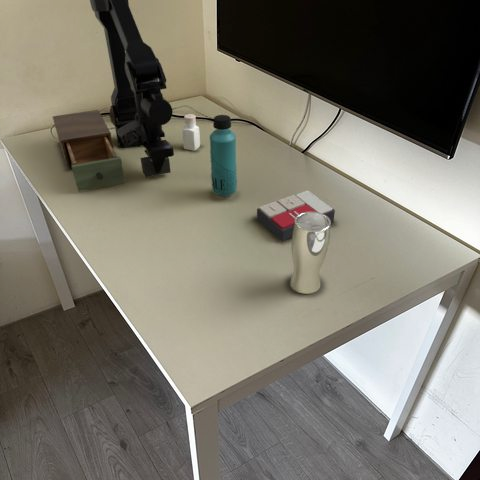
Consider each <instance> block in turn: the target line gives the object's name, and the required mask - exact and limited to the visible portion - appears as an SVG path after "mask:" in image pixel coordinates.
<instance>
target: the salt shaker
mask: <svg viewBox="0 0 480 480" xmlns="http://www.w3.org/2000/svg"><path fill="white" fill-rule="evenodd" d="M196 118H197V117H196V115H195V114H193V113H187V114H185V115H184V117H183V119H184V126H183V127H182V129H181V130H182V142H183V149H184V150H188V151H193V152H194V151H197V150H198V149H199V148H200V147H201V137H200V136H201V135H200V127H199V126H198V125H197V123H196V122H197V119H196Z"/></svg>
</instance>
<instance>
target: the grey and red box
mask: <svg viewBox="0 0 480 480" xmlns="http://www.w3.org/2000/svg"><path fill="white" fill-rule="evenodd" d="M304 212H319V213H322V214H324V215H326V216H327V217H328V218H329V219H330V221H331V224H330V225H332V224H334V222H335V213H336V209H334V208H333V207H331V206H330V205H329V204H327V203H326V202H325V201H323V200H322V199H321V198H320V197H318V196H317V195H315V194H314V193H312V192H311V191H310V190H304V191H302V192H299V193H296V194H292V195H289V196H286V197H284V198H281V199H278V200H277V201H273V202H272V201H271V202H269V203H267V204H264V205H261V206H259V207H258V208H256V220H257V221H258V222H259V223H260V224H261V225H262V226H263V227H265V228H266V229H267V231H269V232H270V233H271V234H273V235H274V236H275V237H276V238H277V239H278V240H279V241H281V242H284V241H285V242H286V241H288V240H289V239H292V233H293V227H294V222H295V218H296V216H297V215H299V214H301V213H304Z"/></svg>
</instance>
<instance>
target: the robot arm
mask: <svg viewBox="0 0 480 480" xmlns="http://www.w3.org/2000/svg"><path fill="white" fill-rule="evenodd" d="M89 3H90V7H91V10H92V12H94V16H95V18H96V20H97V21H98V22H99V24H100V25H101V27H103V32H104V36H105V42H106V48H107V53H108V59H109V64H110V70H111V75H112V81H113V85H114V86H113V90H112V94H111V96H110V102H111V105H110V107H109V108H110V109H109V117H110V121H111V122H110V123H111V125H113V126H114V127H115V134H116V141H117V144H119V147H120V148H122V149H123V148H130V147H131V148H133V147H140V146H142V147H143V148H145V149H144V150H143V151H144V153H145V154H146V156H147V157H149V159H151V160H152V162H153V165H154V168H155V171H156V173H160V172H161V169H162V166H163V164H164V161H165V158H166V157H168V158H171V157H173V156H175V151H174V147H173V145H172V144H171V143H170V142H169V141H168V140H167V139H162V138H165V137H166V134H165V131H164V130H163V126H164V125H166V124H168V123H169V122H170V121H171V119H172V117H173V112H174V111H173V107H172V105H171V103H170V102H169V101H168V100H167V99H166V98H165V97H164V95H163V93H162V90H166V89H167V88H168V87H167V84H166V83H167V78H166V75H165V72H164V69H163V66H162V64H161V62H160V60H159V58H158V57H157V56H156V54H155V52H154V50H153V48H152V47H151V46H149V44H147V43H146V42H144V40H143V38H142V35H141V33H140V31H139V28H138V25H137V23H136V21H135V17H134V16H133V13H132V10H131V8H130V4H129V3H130V2H129V0H89ZM157 77H158V79H159V81H156V82H150V83H149V82H148V81H154V80H157ZM131 87H132V89H131Z"/></svg>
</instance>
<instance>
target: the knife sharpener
mask: <svg viewBox="0 0 480 480" xmlns="http://www.w3.org/2000/svg"><path fill="white" fill-rule="evenodd" d="M140 163H141V164H140V165H141V170H142V174H143V176H144V177H145V178H151V177H155V176H161V175H165V174H171V164H170V157H166V158H165V161H164V164H163V166H162V169H161V172H160V173H156V171H155V168H154V165H153V162H152V160H151V159H149V157H148V156H144V157H140Z"/></svg>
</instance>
